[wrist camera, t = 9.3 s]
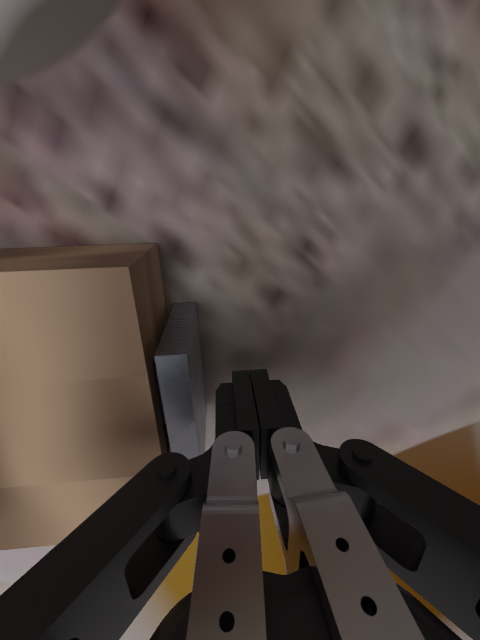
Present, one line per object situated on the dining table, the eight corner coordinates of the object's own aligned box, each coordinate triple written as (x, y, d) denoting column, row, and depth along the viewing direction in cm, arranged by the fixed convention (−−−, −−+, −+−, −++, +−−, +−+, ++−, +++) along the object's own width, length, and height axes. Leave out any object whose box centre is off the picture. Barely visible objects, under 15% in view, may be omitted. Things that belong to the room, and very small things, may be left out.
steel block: (195, 301, 14) (186, 354, 9) (206, 403, 16) (202, 486, 12) (42, 311, 13) (-47, 371, 9) (76, 414, 16) (19, 504, 11)
